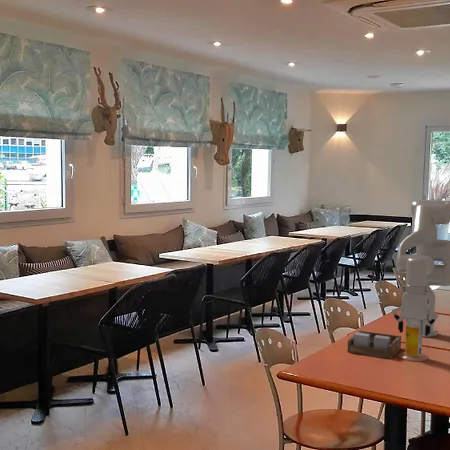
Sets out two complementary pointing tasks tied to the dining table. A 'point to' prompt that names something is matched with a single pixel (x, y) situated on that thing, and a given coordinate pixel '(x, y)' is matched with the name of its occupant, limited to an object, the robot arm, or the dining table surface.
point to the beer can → (413, 337)
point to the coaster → (417, 359)
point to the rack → (392, 348)
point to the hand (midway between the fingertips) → (413, 333)
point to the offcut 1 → (362, 339)
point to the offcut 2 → (381, 342)
